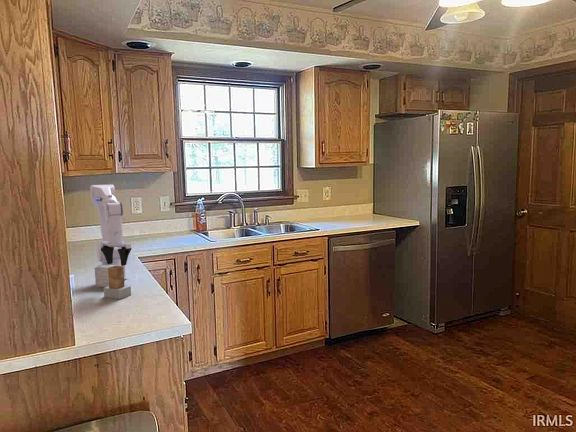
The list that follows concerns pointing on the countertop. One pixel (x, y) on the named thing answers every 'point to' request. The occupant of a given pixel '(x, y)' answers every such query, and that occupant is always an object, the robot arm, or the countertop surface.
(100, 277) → the medicine box
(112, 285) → the oak column
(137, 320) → the countertop surface
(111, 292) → the light grey riser
